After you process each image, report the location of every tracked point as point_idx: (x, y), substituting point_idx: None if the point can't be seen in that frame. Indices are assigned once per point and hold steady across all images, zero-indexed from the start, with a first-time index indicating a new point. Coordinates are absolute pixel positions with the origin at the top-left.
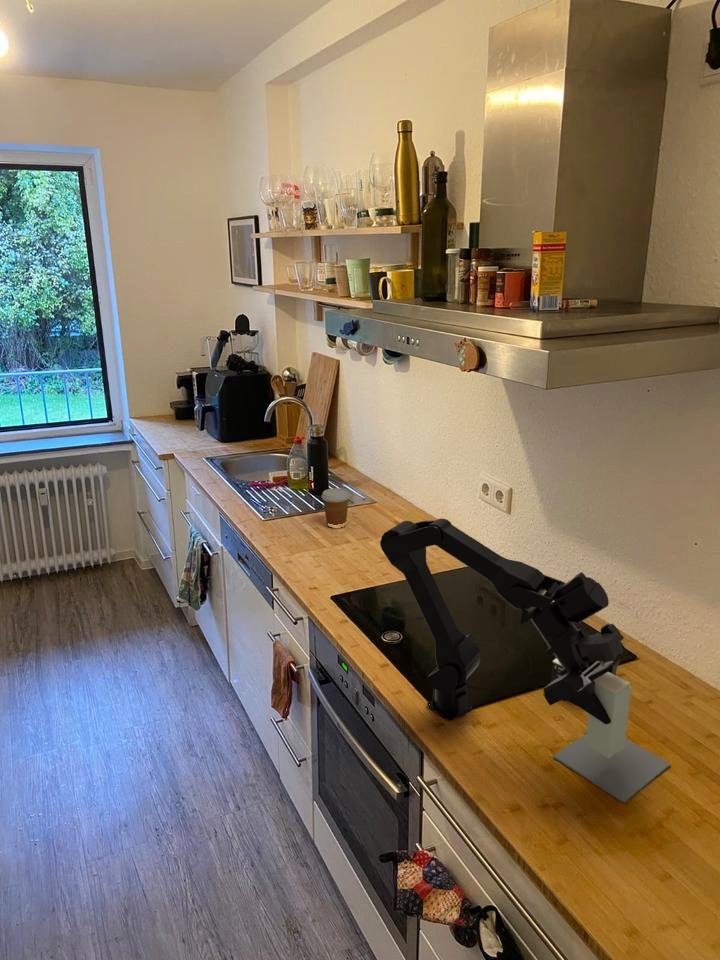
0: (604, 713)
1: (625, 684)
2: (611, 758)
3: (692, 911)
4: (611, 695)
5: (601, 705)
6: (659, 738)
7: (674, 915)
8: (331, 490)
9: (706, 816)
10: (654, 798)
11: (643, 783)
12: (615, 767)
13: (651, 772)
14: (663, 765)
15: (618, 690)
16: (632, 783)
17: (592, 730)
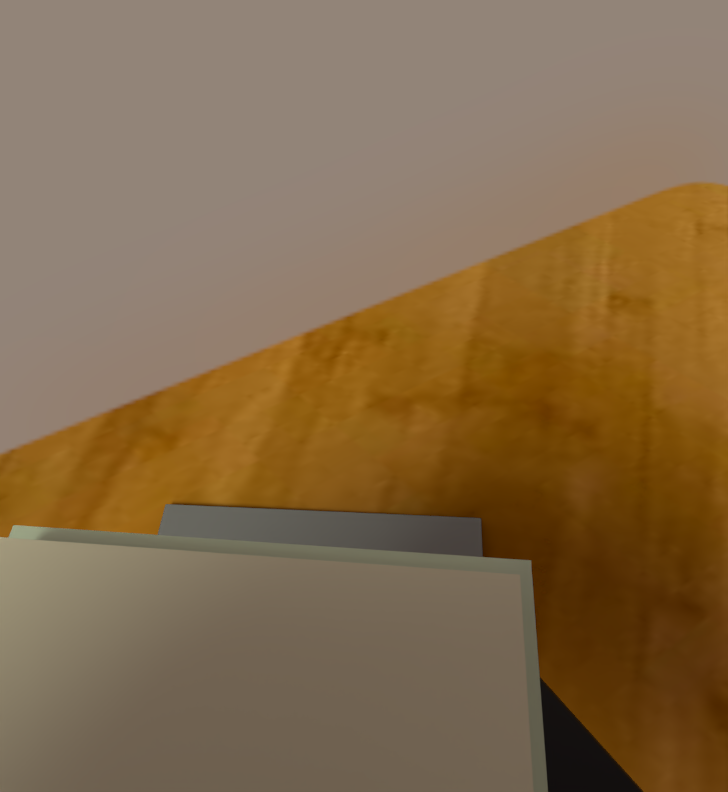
0: (541, 696)
1: (81, 565)
2: None
3: (654, 228)
4: (533, 652)
5: (562, 786)
6: None
7: (706, 243)
8: None
9: (328, 334)
10: (371, 462)
11: (337, 518)
12: None
13: (258, 528)
14: (190, 517)
15: (381, 566)
16: (369, 547)
17: None
